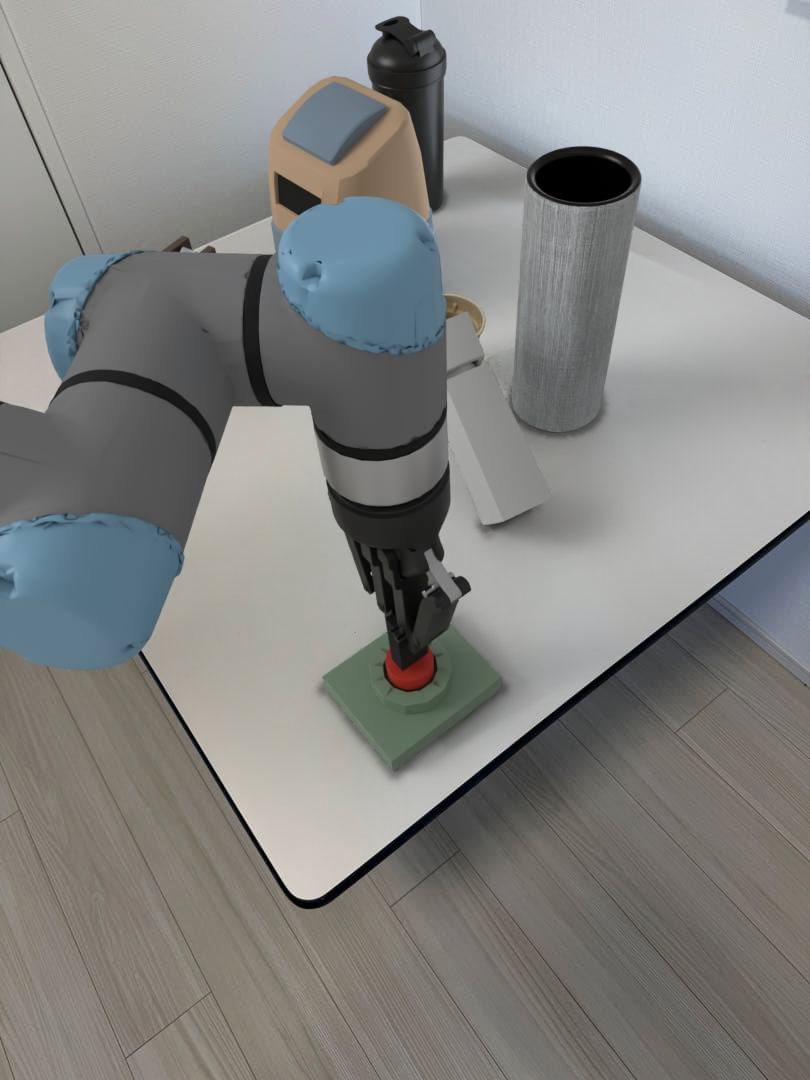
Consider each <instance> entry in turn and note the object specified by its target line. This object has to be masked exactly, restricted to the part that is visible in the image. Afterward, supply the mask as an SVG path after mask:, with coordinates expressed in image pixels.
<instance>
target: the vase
mask: <svg viewBox="0 0 810 1080" xmlns="http://www.w3.org/2000/svg"><path fill="white" fill-rule="evenodd" d="M642 181H643V177H642V172H641V170H640V168H639V167H638V165H637V164H636V163H635V162H634V161H633V160H632V159H630V158H629V157H628V156H626V155H624V154H623V153H621V152H618V151H615V150H612V149H609V148H605V147H600V146H592V145H572V146H566V147H561V148H560V147H559V148H556V149H553V150H550V151H548V152H546V153H544V154H542V155H540V156H539V157H537V158H536V159H535V160H534V161H532V162H531V163H530V165H529V166H528V168H527V170H526V172H525V178H524V193H523V210H522V227H521V241H520V242H521V243H520V255H519V256H520V257H519V258H520V259H519V271H518V272H519V275H518V291H517V306H516V307H517V308H516V322H515V323H516V324H515V338H514V340H515V341H514V353H513V355H514V357H513V369H512V370H513V371H512V385H511V386H512V387H511V388H512V389H511V402H512V407H513V409H514V412H515V413H516V415H517V416H518V417H519V418H520V419H521V420H522V421H523V422H525V423H526V424H527V425H529V426H531V427H533V428H535V429H538V430H542V431H545V432H553V433H565V432H572V431H576V430H579V429H581V428H584V427H585V426H588V425H589V424H590V423H591V422H592V421H593V420H594V419H595V418H596V417H597V415H598V414H599V412H600V409H601V406H602V402H603V396H604V392H605V386H606V382H607V381H606V380H607V375H608V370H609V365H610V360H611V359H610V358H611V355H612V354H611V353H612V347H613V342H614V337H615V332H616V326H617V321H618V315H619V310H620V304H621V303H620V302H621V299H622V292H623V288H624V282H625V276H626V272H627V265H628V260H629V254H630V250H631V249H630V248H631V243H632V238H633V234H634V233H633V231H634V227H635V222H636V216H637V212H638V211H637V209H638V206H639V205H638V204H639V199H640V194H641V188H642Z"/></svg>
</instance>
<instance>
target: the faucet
mask: <svg viewBox="0 0 810 1080" xmlns="http://www.w3.org/2000/svg"><path fill="white" fill-rule="evenodd" d="M446 339H447V429H448V444H449V445H450V448H451V450H452V454H453V455H454V459H455V460H456V463H457V465H458V468H459V471H460V473H461V476H462V478H463V480H464V483H465V485H466V487H467V490H468V493H469V495H470V498H471V501H472V503H473V505H474V508H475V510H476V512H477V515H478V517H479V520H480V522H481V524H482V526H488V525H494V524H498V523H499V524H500V523H503V522H506V521H508V520H510V519H512V518H515V517H516V516H518V515H521V514H523V513H524V512H526V511H529V510H531V509H533V508H535V507H537V506H539V505H540V504H543V503H544V502H546V501H548V500H550V499H552V498H554V497H555V496H554V495H553V492H552V491H551V488H550V485H549V484H548V482H547V480H546V478H545V476H544V473H543V472H542V470H541V468H540V466H539V463H538V461H537V460H536V457H535V455H534V453H533V451H532V449H531V447H530V445H529V443H528V442H527V438H526V437H525V435H524V433H523V431H522V429H521V427H520V425H519V422H518V421H517V419H516V417H515V415H514V413H513V410H512V409H511V406H510V404H509V402H508V400H507V399H506V396H505V394H504V392H503V390H502V388H501V386H500V384H499V382H498V380H497V378H496V376H495V373H494V372H493V370H492V368H491V365H490V364H489V362H488V361H487V362H484V363H483V361H484V359H485V356H486V354H485V352H484V349H483V347H482V344H481V341H480V338H478V336H477V333H476V331H475V328H474V326H473V323H472V321H471V318H470V316H469V313H468V311H467V312H464V313H462V314H459V315H457V316H454V317H451V318H449V319H447V320H446Z"/></svg>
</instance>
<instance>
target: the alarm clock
mask: <svg viewBox="0 0 810 1080" xmlns="http://www.w3.org/2000/svg"><path fill="white" fill-rule="evenodd" d="M267 179H268V187H269V188H268V189H269V197H270V208H271V209H270V210H271V218H272V219H271V223H270V226H271V232H272V238H273V245H274V252H275V253H276V252H278V250H279V244H280V241H281V238H282V235H283V233H284V231H285V230H286V228H287V227H288V226H289V224H290V223H291V222H292V221H293V220H295V219H296V218H297V217H298V216H299V215H301V214H302V213H303V212H305V211H307V210H308V209H310V208H312V207H314V206H317V205H319V204H330V205H334V204H338V203H341V202H342V201H343V199H345V198H346V197H363V196H368V197H379V198H384V199H389V200H392V201H396V202H398V203H401V204H403V205H405V206H407V207H409V208H411V209H412V210H414V211H415V212H417V213H418V214H419V215H420V216H422V217H423V218H424V219H425V220H426V222H427V223H428V224H429V226H430V227H431V228H432V230H433V232H434V233H435V230H434V228H435V227H434V217H433V212H432V209H431V208H430V207H429V201H428V194H427V188H426V182H425V176H424V169H423V163H422V157H421V151H420V148H419V144H418V141H417V137H416V134H415V130H414V127H413V123H412V120H411V116H410V113H409V111H408V110H407V109H406V108H405V107H404V106H403V105H402V104H401V103H400V102H398V101H396V100H394V99H392V98H389V97H387V96H385V95H383V94H381V93H379V92H377V91H374V90H372V88H370V87H368V86H366V85H363V84H361V83H359V82H358V81H355V80H353V79H351V78H348V77H345V76H339V75H338V76H337V75H332V76H329V77H328V76H327V77H325V78H323V79H320V80H318V81H317V82H316V83H314V84H313V85H311V86H310V87H308V88H307V90H306V91H304V93H303V94H302V95H301V96H300V97H299V98H298V99H296V101H295V102H294V103H293V104H292V105H291V106H290V107H289V108H288V109H287V110H286V111H285V112H284V113H283V115H281V116H280V118H279V119H278V120H277V122H276V123H275V125H274V126H273V127H272V129H271V132H270V137H269V142H268V163H267Z"/></svg>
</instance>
